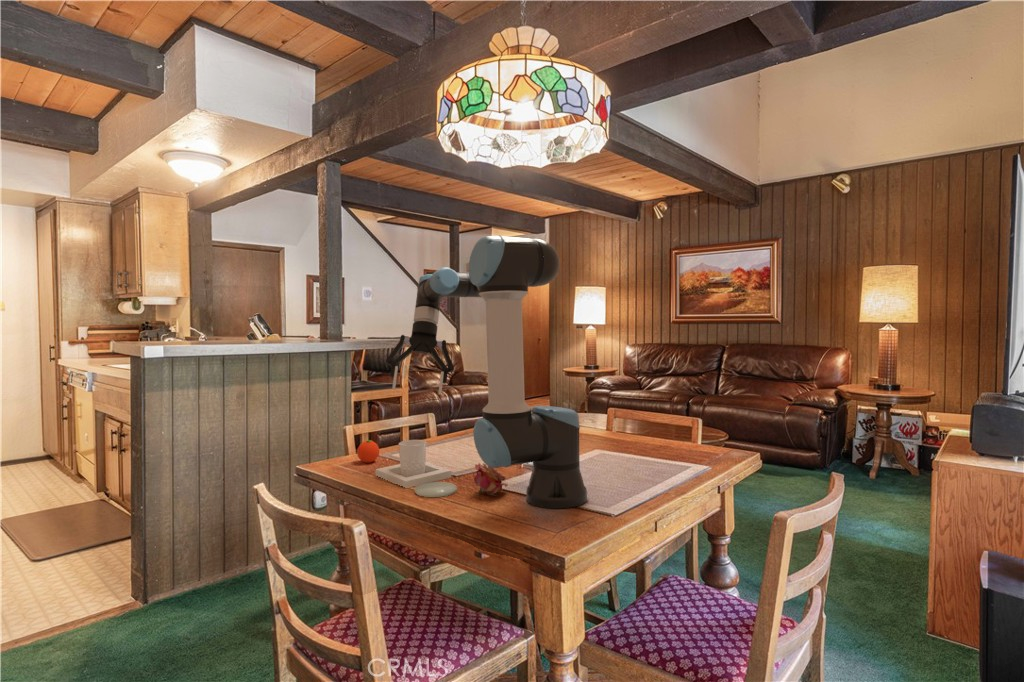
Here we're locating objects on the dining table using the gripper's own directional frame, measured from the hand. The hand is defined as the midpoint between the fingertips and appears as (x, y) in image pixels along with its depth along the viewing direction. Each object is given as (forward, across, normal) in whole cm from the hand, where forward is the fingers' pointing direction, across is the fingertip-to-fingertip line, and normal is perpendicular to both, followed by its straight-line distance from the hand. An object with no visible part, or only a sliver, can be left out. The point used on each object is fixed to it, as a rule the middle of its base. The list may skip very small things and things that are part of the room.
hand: (416, 391), depth 163 cm
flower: (+28, -22, +16) cm, 39 cm away
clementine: (+20, +12, -24) cm, 34 cm away
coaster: (+28, -8, +10) cm, 31 cm away
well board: (+24, -2, -4) cm, 25 cm away
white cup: (+24, -2, -4) cm, 25 cm away
